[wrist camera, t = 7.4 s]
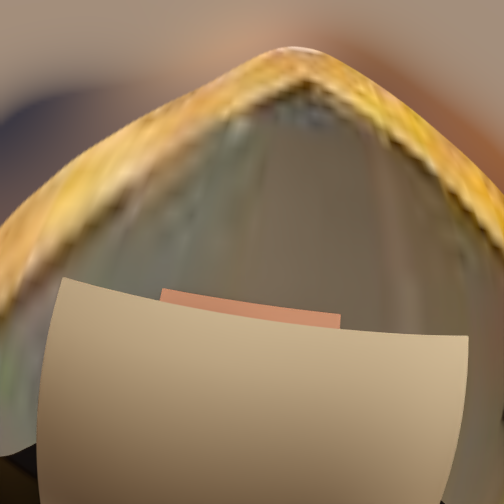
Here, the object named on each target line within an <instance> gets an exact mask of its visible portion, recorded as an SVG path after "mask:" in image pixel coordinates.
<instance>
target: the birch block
mask: <svg viewBox="0 0 504 504" xmlns="http://www.w3.org/2000/svg"><path fill="white" fill-rule="evenodd" d="M467 366H468V336H439V335H413V334H395V333H380V332H367V331H355V330H344V329H334V328H325V327H316V326H307V325H299V324H291V323H284V322H276V321H269V320H262V319H256V318H249V317H243V316H237V315H231V314H225V313H219V312H213V311H208V310H202V309H197V308H192V307H186V306H181V305H176V304H171V303H167V302H162V301H157V300H153V299H148V298H144V297H139V296H135V295H130V294H126V293H122V292H118V291H114V290H110V289H106V288H102V287H98V286H94V285H90V284H86V283H83V282H79V281H75V280H72V279H68V278H64V277H63V279H62V282H61V285H60V289H59V292H58V296H57V300H56V303H55V307H54V311H53V315H52V320H51V324H50V328H49V333H48V338H47V343H46V348H45V354H44V360H43V366H42V373H41V381H40V390H39V400H38V413H37V473H38V486H39V495H40V503H41V504H440V501H441V498H442V495H443V492H444V489H445V486H446V483H447V480H448V477H449V473H450V470H451V466H452V463H453V459H454V455H455V450H456V446H457V442H458V437H459V432H460V426H461V420H462V414H463V407H464V400H465V391H466V380H467Z"/></svg>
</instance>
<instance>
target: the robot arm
mask: <svg viewBox="0 0 504 504" xmlns="http://www.w3.org/2000/svg"><path fill="white" fill-rule="evenodd" d="M0 504H41V503H40V495H39V486H38V473H37V443H36V444H34V445H32V446H30V447H28V448H26V449H24V450H21V451H19V452H17V453H15V454H12V455H9V456H2V457H0ZM440 504H445V503H443V502H442V501H440Z"/></svg>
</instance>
